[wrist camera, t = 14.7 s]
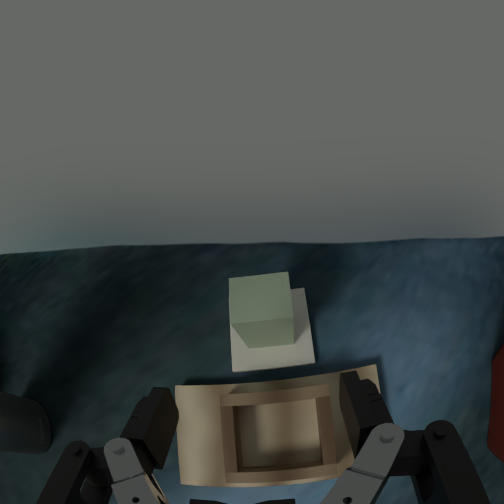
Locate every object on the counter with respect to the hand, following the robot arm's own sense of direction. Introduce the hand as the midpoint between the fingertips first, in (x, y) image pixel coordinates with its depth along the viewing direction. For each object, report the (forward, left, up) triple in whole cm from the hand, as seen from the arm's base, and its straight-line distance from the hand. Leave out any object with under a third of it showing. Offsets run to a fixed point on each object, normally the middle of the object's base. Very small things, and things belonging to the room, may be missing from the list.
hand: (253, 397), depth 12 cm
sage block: (0, +8, -18) cm, 20 cm away
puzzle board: (0, -4, -19) cm, 19 cm away
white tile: (0, +8, -19) cm, 21 cm away
